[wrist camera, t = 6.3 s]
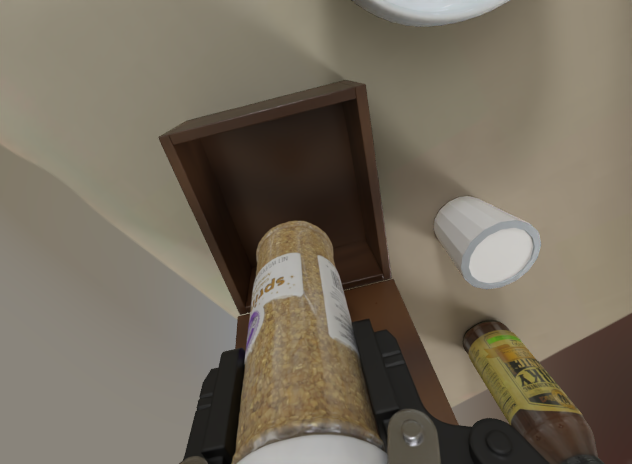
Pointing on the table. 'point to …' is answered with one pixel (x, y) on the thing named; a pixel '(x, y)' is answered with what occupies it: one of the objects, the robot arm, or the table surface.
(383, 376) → the robot arm
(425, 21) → the cereal bowl
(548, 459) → the sauce bottle
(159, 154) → the table surface
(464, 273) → the shot glass
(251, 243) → the chest
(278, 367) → the sprinkles bottle
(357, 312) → the chest lid
